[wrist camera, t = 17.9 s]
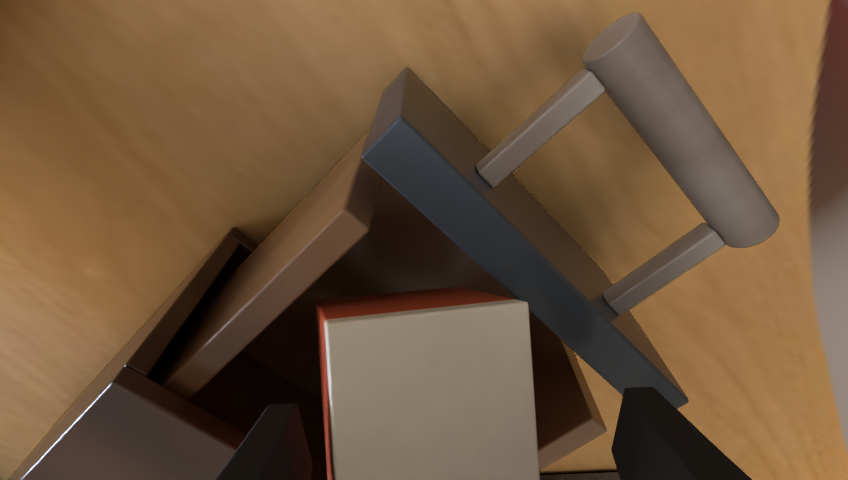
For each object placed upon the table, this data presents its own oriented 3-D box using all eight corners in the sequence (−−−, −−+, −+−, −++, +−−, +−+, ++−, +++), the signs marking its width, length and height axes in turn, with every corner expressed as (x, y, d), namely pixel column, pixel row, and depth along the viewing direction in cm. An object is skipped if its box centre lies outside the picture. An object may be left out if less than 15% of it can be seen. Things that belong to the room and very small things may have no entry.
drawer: (523, -59, 13) (607, -99, 7) (712, 195, 17) (868, 302, 11) (181, 307, 19) (76, 447, 13) (378, 434, 23) (365, 586, 17)
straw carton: (315, 299, 13) (325, 323, 9) (459, 286, 14) (529, 301, 10) (329, 510, 13) (346, 633, 9) (472, 478, 14) (547, 574, 10)
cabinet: (233, 225, 18) (111, 381, 11) (446, 384, 22) (460, 573, 15) (67, 408, 23) (-95, 602, 16) (270, 511, 27) (216, 701, 20)
